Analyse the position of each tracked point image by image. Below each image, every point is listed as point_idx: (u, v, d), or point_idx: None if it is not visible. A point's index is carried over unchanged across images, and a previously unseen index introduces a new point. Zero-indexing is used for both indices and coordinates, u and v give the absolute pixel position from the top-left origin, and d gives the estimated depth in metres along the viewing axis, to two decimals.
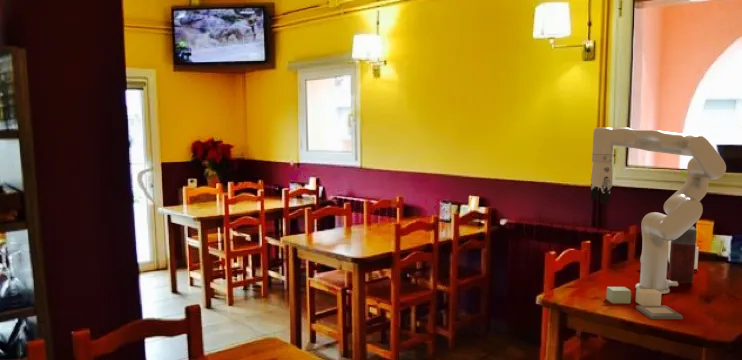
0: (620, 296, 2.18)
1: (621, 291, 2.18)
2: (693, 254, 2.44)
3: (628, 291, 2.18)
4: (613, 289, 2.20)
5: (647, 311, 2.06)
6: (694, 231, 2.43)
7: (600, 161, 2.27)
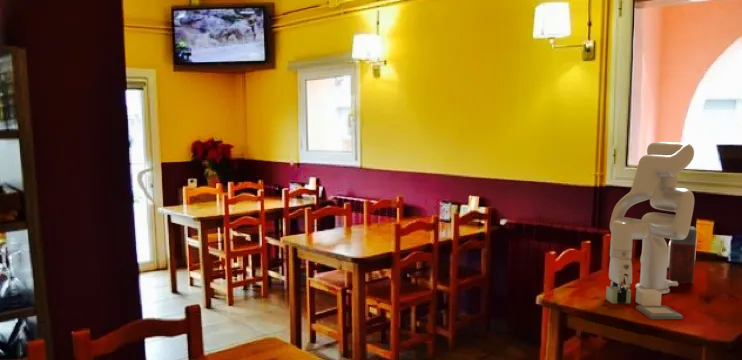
0: None
1: None
2: (693, 254, 2.44)
3: (628, 291, 2.18)
4: (613, 289, 2.19)
5: (647, 311, 2.06)
6: (694, 231, 2.43)
7: (619, 257, 2.16)
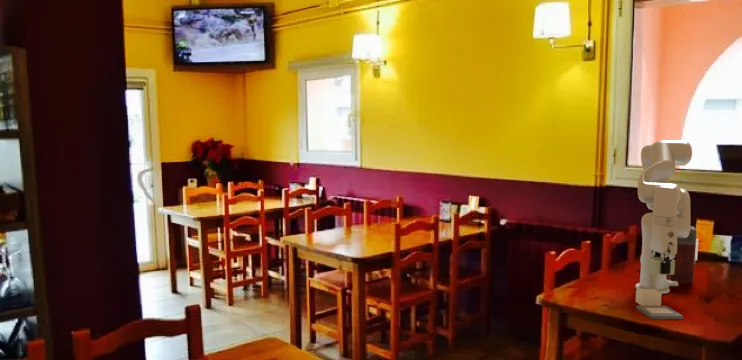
0: None
1: None
2: (693, 254, 2.44)
3: (672, 261, 2.03)
4: (655, 259, 2.04)
5: (647, 311, 2.06)
6: (694, 231, 2.43)
7: (663, 224, 2.01)
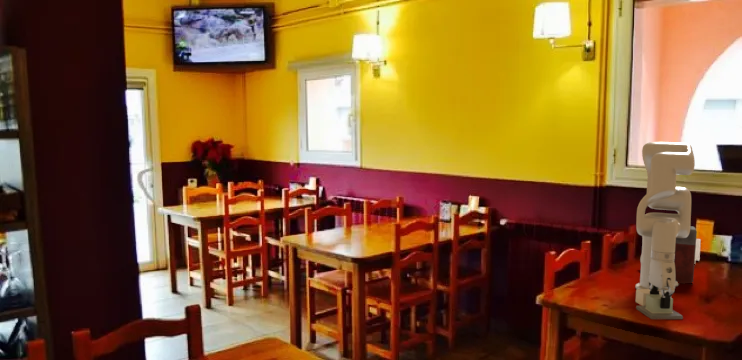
0: None
1: None
2: (693, 254, 2.44)
3: (670, 299, 2.04)
4: (653, 297, 2.05)
5: (647, 311, 2.06)
6: (694, 231, 2.43)
7: (661, 260, 2.02)
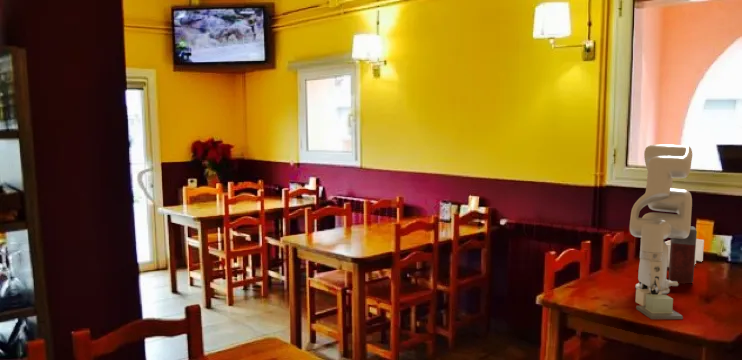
0: (661, 305, 2.04)
1: (662, 299, 2.04)
2: (693, 254, 2.44)
3: (670, 299, 2.04)
4: (653, 297, 2.05)
5: (647, 311, 2.06)
6: (694, 231, 2.43)
7: (650, 259, 2.13)
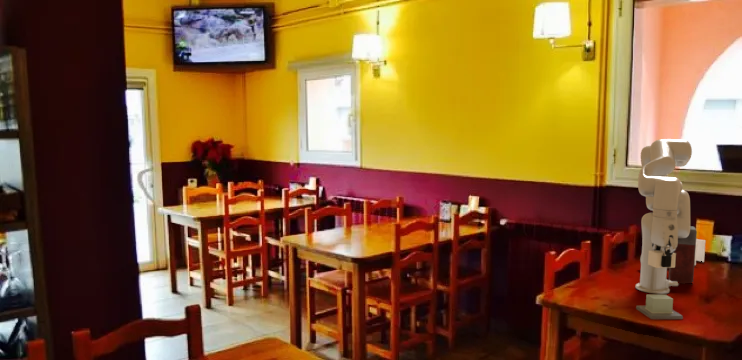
0: (661, 305, 2.04)
1: (662, 299, 2.04)
2: (693, 254, 2.44)
3: (670, 299, 2.04)
4: (653, 297, 2.05)
5: (647, 311, 2.06)
6: (694, 231, 2.43)
7: (663, 217, 2.01)
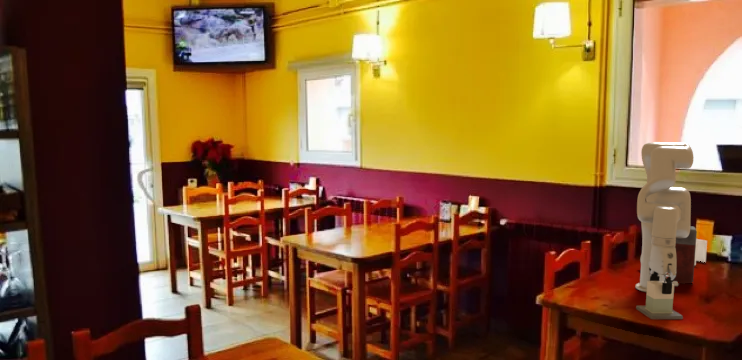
0: (661, 305, 2.04)
1: (662, 299, 2.04)
2: (693, 254, 2.44)
3: (670, 299, 2.04)
4: None
5: (647, 311, 2.06)
6: (694, 231, 2.43)
7: (662, 245, 2.01)
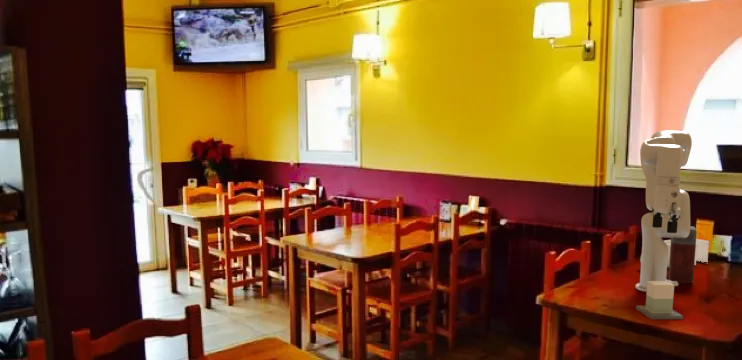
0: (661, 305, 2.04)
1: (662, 299, 2.04)
2: (693, 254, 2.44)
3: (670, 299, 2.04)
4: None
5: (647, 311, 2.06)
6: (694, 231, 2.43)
7: (666, 184, 1.99)
